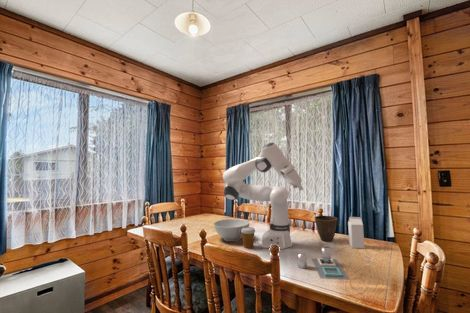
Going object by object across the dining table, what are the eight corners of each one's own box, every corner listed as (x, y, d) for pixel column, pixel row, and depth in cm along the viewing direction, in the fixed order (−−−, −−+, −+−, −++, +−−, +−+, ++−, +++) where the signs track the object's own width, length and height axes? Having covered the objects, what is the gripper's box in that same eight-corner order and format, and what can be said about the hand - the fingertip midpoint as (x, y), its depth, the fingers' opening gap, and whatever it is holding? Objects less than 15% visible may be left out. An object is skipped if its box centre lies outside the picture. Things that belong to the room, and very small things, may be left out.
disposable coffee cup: (247, 243, 162) (246, 226, 162) (258, 246, 156) (257, 228, 156) (238, 247, 154) (238, 229, 155) (250, 250, 148) (249, 231, 149)
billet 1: (298, 271, 117) (297, 255, 117) (297, 267, 121) (296, 252, 122) (307, 272, 116) (307, 255, 116) (306, 268, 120) (305, 252, 121)
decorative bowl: (250, 244, 159) (250, 227, 160) (212, 245, 160) (211, 227, 160) (249, 233, 186) (248, 218, 187) (216, 234, 186) (215, 219, 187)
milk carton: (364, 248, 146) (362, 218, 147) (352, 248, 147) (350, 218, 148) (360, 244, 153) (359, 216, 154) (349, 244, 154) (347, 215, 155)
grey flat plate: (320, 281, 106) (320, 275, 106) (311, 261, 129) (311, 256, 129) (350, 282, 104) (350, 277, 104) (336, 262, 127) (336, 257, 127)
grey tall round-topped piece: (322, 265, 120) (322, 249, 121) (321, 261, 125) (320, 246, 125) (332, 265, 120) (331, 249, 120) (329, 261, 124) (329, 246, 124)
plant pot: (335, 245, 153) (334, 221, 154) (312, 241, 162) (311, 218, 163) (340, 239, 165) (339, 217, 166) (319, 236, 174) (318, 214, 175)
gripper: (275, 171, 136) (289, 189, 136) (284, 172, 116) (300, 194, 116) (283, 164, 137) (297, 183, 137) (294, 165, 116) (310, 187, 116)
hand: (299, 188), depth 126 cm, fingers open, 8 cm apart
